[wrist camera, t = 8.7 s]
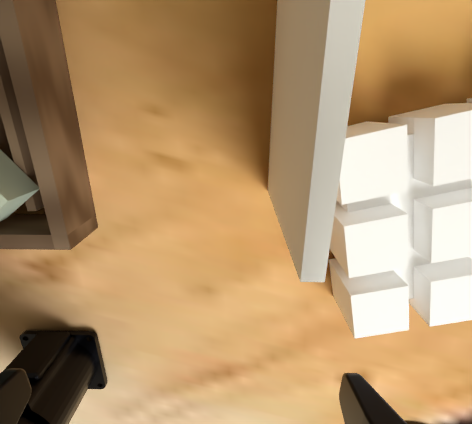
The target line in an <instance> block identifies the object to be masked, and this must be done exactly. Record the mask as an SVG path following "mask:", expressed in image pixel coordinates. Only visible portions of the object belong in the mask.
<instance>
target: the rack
mask: <svg viewBox="0 0 472 424" xmlns="http://www.w3.org/2000/svg"><path fill="white" fill-rule="evenodd" d="M0 149H1V150H2V151H3V152H4V153H5V154H6V155H7V156H8V157H9V158H10V159H11V160H12V161H13V162H14V163H15V164H16V165H17V166H18V167H19V168H20V169H21V170H22V171H23V172H24V173H25V174H26V175H27V176H28V177H29V178H30V179H31V180H32V181H33V182H34V183H35V184H36V185H37V186H38V187H39V190H38V191H37V192H36V193H34V194H33V195H32V196H31V197H30V198H29V199H28V200H27V201H25V202H24V203H25V204H26V207H27V211H38V210H40V209H42V208H44V209H45V213H46V214H11V215H10V216H9V217H8V218H6V219H4V220H2V221H0V249H54V250H71V249H72V248H73V247H75V246H76V245H77V244H78V243H79V242H81V241H82V240H83V239H84V238H86V237H87V236H88V235H89V234H90V233H92V232H93V231H94V230H95V229H97V228H98V225H97V219H96V214H95V209H94V204H93V198H92V193H91V188H90V182H89V177H88V172H87V166H86V161H85V156H84V150H83V145H82V140H81V134H80V129H79V124H78V118H77V113H76V108H75V103H74V97H73V92H72V87H71V81H70V76H69V71H68V65H67V60H66V55H65V49H64V44H63V39H62V33H61V28H60V23H59V17H58V12H57V7H56V2H55V0H0ZM24 203H23V204H24Z"/></svg>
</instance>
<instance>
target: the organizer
mask: <svg viewBox="0 0 472 424" xmlns="http://www.w3.org/2000/svg"><path fill="white" fill-rule="evenodd" d="M330 250H331V252H332V253H333V255H334V256H335V258H333V259H329V266H330V275H331V283H332V291H333V297H334V299H335V301H336V303H337V304H338V306H339V308H340V310H341V312H342V314H343V316H344V318H345V320H346V322H347V324H348V326H349V328H350V330H351V332H352V334H353V336H354V338H361V337H367V336H374V335H380V334H386V333H392V332H399V331H405V330H409V304H410V305H411V306H412V307H413V308H414V309H415V310H416V312H417V313H418V314H419V315H420V316H421V317H422V318H423V319H424V321H425V322H426V323H427V324H428V325H429V326H436V325H442V324H449V323H455V322H461V321H467V320H472V98H468V99H467V103H452V104H442V105H437V106H433V107H429V108H424V109H420V110H415V111H411V112H407V113H402V114H398V115H393V116H389V117H388V123H381V122H368V121H367V122H363V123H358V124H354V125H350V126H347V131H346V138H345V145H344V152H343V159H342V166H341V173H340V180H339V187H338V193H337V200H336V207H335V214H334V221H333V228H332V235H331V242H330Z"/></svg>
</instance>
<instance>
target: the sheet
mask: <svg viewBox="0 0 472 424" xmlns="http://www.w3.org/2000/svg"><path fill="white" fill-rule="evenodd" d="M364 6H365V0H277V17H276V36H275V56H274V76H273V95H272V115H271V135H270V154H269V174H268V193H269V196H270V199H271V201H272V204H273V207H274V210H275V212H276V215H277V218H278V221H279V224H280V226H281V229H282V232H283V235H284V238H285V240H286V243H287V246H288V249H289V251H290V254H291V257H292V260H293V263H294V265H295V268H296V271H297V274H298V277H299V279H300V282H325V277H326V270H327V263H328V256H329V249H330V242H331V235H332V228H333V221H334V214H335V207H336V200H337V193H338V187H339V180H340V173H341V166H342V159H343V152H344V145H345V138H346V131H347V124H348V117H349V110H350V103H351V96H352V89H353V82H354V75H355V68H356V62H357V55H358V48H359V41H360V34H361V27H362V20H363V13H364Z"/></svg>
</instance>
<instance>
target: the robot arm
mask: <svg viewBox="0 0 472 424" xmlns="http://www.w3.org/2000/svg"><path fill="white" fill-rule="evenodd" d="M20 340H21V343H22V346H23V350H22V351H21V352H20V353H19V354H18V355H17V356H16V358H15V359H14V360H13V361H12V362H11V363H10V364H9V365H8V366H7V367H6V369H5V370H4V371H3V372H1V373H0V424H69V422H70V420H71V418H72V417H73V415H74V413H75V411H76V409H77V407H78V406H79V404H80V402H81V400H82V398H83V396H84V395H85V393H86V391H87V389H103V388H105V386H106V384H107V378H106V373H105V369H104V364H103V360H102V355H101V351H100V346H99V342H98V337H97V334H96V333H94V332H92V331H24V332H23V333H22V334H21V335H20ZM339 400H340V405H341V409H342V413H343V418H344V422H345V424H407V423H406V422H405V421H404V420H403V419H402V418H401V417H400V416H399V415H398V414H397V413H396V412H395V411H394V410H393V409H392V407H391V406H390V405H389V404H388V403H387V402H386V401H385V400H384V399H383V398H382V397H381V396H380V395H379V394H378V393H377V392H376V391H375V390H374V389H373V388H372V387H371V386H370V384H369V383H368V382H367V381H366V380H365V379H364V378H363V377H362V376H361V375H359V374H357V373H345V374H344V375H343V377H342V382H341V387H340V392H339Z"/></svg>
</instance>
